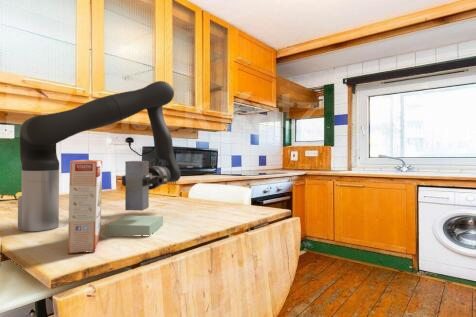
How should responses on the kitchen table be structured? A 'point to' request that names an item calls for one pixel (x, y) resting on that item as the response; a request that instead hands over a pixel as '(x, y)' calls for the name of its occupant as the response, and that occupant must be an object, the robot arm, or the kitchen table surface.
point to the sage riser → (134, 225)
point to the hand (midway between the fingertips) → (133, 182)
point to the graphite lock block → (136, 185)
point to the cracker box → (84, 205)
